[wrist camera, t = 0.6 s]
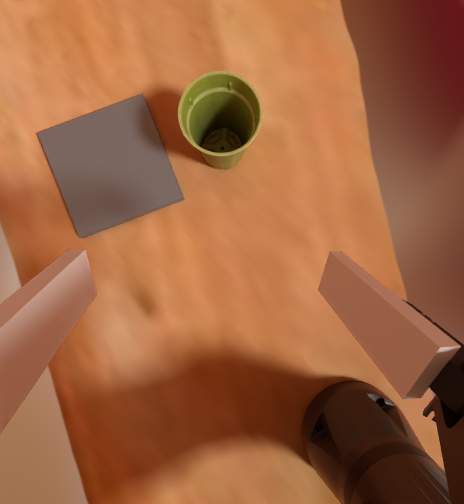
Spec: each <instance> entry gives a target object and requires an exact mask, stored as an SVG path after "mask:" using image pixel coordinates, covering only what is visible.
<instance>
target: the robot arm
mask: <svg viewBox="0 0 464 504" xmlns="http://www.w3.org/2000/svg"><path fill="white" fill-rule="evenodd" d="M318 291H319V292H320V293H321V295H322V296H323V297H324V298H325V300H326V301H327V302H328V304H329V305H330V306H331V307H332V309H333V310H334V311H335V313H336V314H337V315H338V316H339V318H340V319H341V320H342V322H343V323H344V324H345V326H346V327H347V328H348V329H349V331H350V332H351V333H352V335H353V336H354V337H355V338H356V340H357V341H358V342H359V344H360V345H361V346H362V347H363V349H364V350H365V351H366V353H367V354H368V355H369V356H370V358H371V359H372V360H373V362H374V363H375V364H376V365H377V367H378V368H379V369H380V371H381V372H382V373H383V375H384V376H385V377H386V378H387V380H388V381H389V382H390V384H391V385H392V386H393V387H394V389H395V390H396V391H397V393H398V394H399V395H400V396H401V398H402V399H413V398H421V397H422V396H423V394H424V393H425V392H426V391H427V389H428V388H429V387H430V389H431V390H432V391H433V392H434V393H435V394H436V396H435V397H434V398H433V399H432V401H431V402H430V403H429V404H428V406H427V407H426V408H425V409H424V411H423V416H425V417H427V416H428V415H429V414H430V413H431V411H434V413H435V416H434V417H433V419H432V420H433V421H435V422H436V424H437V430H438V435H439V441H440V446H441V452H442V457H443V463H444V468H445V471H444V470H443V469H442V468H441V467H440V466H439V465H438V464H437V463H436V462H435V461H434V460H433V459H432V458H431V457H430V456H429V455H428V454H427V453H426V452H425V450H424V448H423V446H422V445H421V443H420V441H419V440H418V438H417V436H416V435H415V433H414V431H413V430H412V428H411V426H410V424H409V423H408V421H407V419H406V418H405V416H404V414H403V413H402V411H401V410H400V409H399V408H398V406H397V405H396V404H395V403H394V402H393V401H392V400H391V399H389V398H388V397H387V396H386V395H385V394H384V393H383V392H382V391H380V390H379V389H377V388H376V387H374V386H372V385H369V384H366V383H363V382H356V381H349V382H342V383H338V384H335V385H333V386H330V387H329V388H327V389H325V390H324V391H322V392H321V393H320V394H319V395H318V396H317V397H316V398H315V399H314V400H313V401H312V403H311V404H310V406H309V408H308V409H307V412H306V414H305V417H304V421H303V429H302V435H303V442H304V446H305V448H306V451H307V454H308V456H309V459H310V461H311V463H312V465H313V467H314V469H315V471H316V472H317V474H318V475H319V476H320V478H321V479H322V480H323V481H324V483H325V484H326V485H327V486H328V488H329V489H330V490H331V491H332V493H333V494H334V495H335V497H336V498H337V499H338V500H339V502H340V503H341V504H464V345H463V344H462V343H461V342H459V341H458V340H457V339H456V338H454V337H453V336H452V335H450V334H449V333H448V332H447V331H445V330H444V329H443V328H441V327H440V326H439V325H438V324H436V323H435V322H432V320H431V319H430V318H429V317H427V316H426V315H423V313H422V312H421V311H420V310H418V309H417V308H416V307H415V306H413V305H412V304H410V303H408V302H406V301H405V300H403V299H401V298H400V297H398V296H397V295H396V294H395V293H393V292H392V291H391V290H389V289H388V288H387V287H386V286H384V285H383V284H382V283H381V282H379V281H378V280H377V279H376V278H374V277H373V276H372V275H371V274H369V273H368V272H367V271H366V270H364V269H363V268H362V267H360V266H359V265H358V264H357V263H355V262H354V261H353V260H352V259H350V258H349V257H348V256H347V255H345V254H344V253H343V252H329V255H328V259H327V262H326V265H325V268H324V272H323V275H322V278H321V282H320V285H319V288H318ZM96 295H97V292H96V288H95V284H94V280H93V277H92V273H91V269H90V265H89V261H88V257H87V254H86V250H85V249H68V250H67V251H66V252H65V253H63V254H62V255H61V256H60V257H58V258H57V259H56V260H55V261H54V262H52V263H51V264H50V265H49V266H47V267H46V268H45V269H44V270H42V271H41V272H40V273H39V274H37V275H36V276H35V277H34V278H32V279H31V280H30V281H29V282H28V283H26V284H25V285H24V286H23V287H21V288H20V289H19V290H18V291H16V292H15V293H14V294H13V295H12V296H10V297H9V298H8V299H7V300H5V301H4V302H3V303H2V304H0V434H1V432H2V431H3V429H4V428H5V426H6V425H7V423H8V422H9V421H10V419H11V418H12V416H13V415H14V413H15V412H16V410H17V409H18V407H19V406H20V405H21V403H22V402H23V400H24V399H25V398H26V396H27V395H28V393H29V392H30V390H31V389H32V387H33V386H34V384H35V383H36V382H37V380H38V378H39V377H40V376H41V374H42V373H43V371H44V370H45V368H46V367H47V366H48V364H49V363H50V361H51V360H52V358H53V357H54V356H55V354H56V353H57V351H58V350H59V348H60V347H61V345H62V344H63V343H64V341H65V340H66V338H67V337H68V335H69V334H70V332H71V331H72V329H73V328H74V327H75V325H76V324H77V322H78V321H79V319H80V318H81V316H82V315H83V314H84V312H85V311H86V309H87V308H88V306H89V305H90V303H91V302H92V301H93V299H94V298H95V296H96Z"/></svg>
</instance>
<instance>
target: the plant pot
mask: <svg viewBox="0 0 464 504" xmlns="http://www.w3.org/2000/svg"><path fill="white" fill-rule="evenodd" d="M262 116H263V111H262V104H261V101H260V98H259V95H258V93H257V92H256V90H255V89H254V88H253V86H252V85H251V84H250V83H249V82H248V81H247V80H245V79H244V78H243V77H241V76H239V75H237V74H235V73H231V72H228V71H213V72H208V73H205V74H203V75H201V76H199V77H198V78H196V79H195V80H193V81H192V82H191V83H190V84H189V85H188V86H187V88H186V89H185V91H184V92H183V94H182V96H181V99H180V102H179V106H178V122H179V126H180V129H181V131H182V133H183V135H184V137H185V138H186V140H187V141H188V142H189V143H190V144H191V145H192V146H193V147H194V148H196V149H197V150H199V151H200V152H201V154H202V155H203V157H204V159H205V160H206V162H207V163H208V164H209V165H211V166H212V167H214V168H217V169H229V168H231V167H233V166H235V165H236V164H237V163H238V162H239V161H240V159H241V157H242V155H243V152H244V150H245V148H247V147H248V146H249V145H250V144H251V143H252V142H253V140H254V139H255V137H256V136H257V134H258V132H259V130H260V127H261V123H262ZM214 134H217V136H216V137H214V138H213V139H212V140H209V139H210V137H211V136H213V135H214ZM231 136H234V138H235V139H236V140H237V141H238V143H237V144H236V142H235V141H234V140H233V138H231ZM221 147H224V150H221Z"/></svg>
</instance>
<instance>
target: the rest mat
mask: <svg viewBox="0 0 464 504" xmlns="http://www.w3.org/2000/svg"><path fill="white" fill-rule="evenodd" d="M38 136H39V138H40V141H41V143H42V146H43V148H44V151H45V153H46V156H47V159H48V161H49V164H50V166H51V169H52V171H53V174H54V176H55V179H56V181H57V184H58V186H59V189H60V191H61V194H62V196H63V199H64V201H65V204H66V206H67V209H68V211H69V214H70V216H71V219H72V221H73V224H74V226H75V229H76V231H77V234H78V236H79V238H85V237H88V236H90V235H93V234H95V233H98V232H101V231H103V230H106V229H109V228H111V227H114V226H116V225H119V224H122V223H124V222H127V221H129V220H132V219H135V218H137V217H140V216H143V215H145V214H148V213H150V212H153V211H156V210H158V209H161V208H164V207H166V206H169V205H171V204H174V203H177V202H179V201H182V200H184V197H183V195H182V192H181V189H180V187H179V184H178V182H177V179H176V177H175V174H174V171H173V169H172V166H171V164H170V161H169V159H168V156H167V153H166V151H165V148H164V146H163V143H162V141H161V138H160V135H159V133H158V130H157V128H156V125H155V123H154V120H153V117H152V115H151V112H150V110H149V107H148V105H147V102H146V99H145V97H144V96H143V94H141V95H138V96H135V97H133V98H130V99H127V100H125V101H122V102H119V103H117V104H114V105H111V106H108V107H106V108H103V109H100V110H98V111H95V112H92V113H90V114H87V115H84V116H82V117H79V118H76V119H73V120H71V121H68V122H65V123H63V124H60V125H57V126H55V127H52V128H49V129H47V130H44V131H41V132H38Z"/></svg>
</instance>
